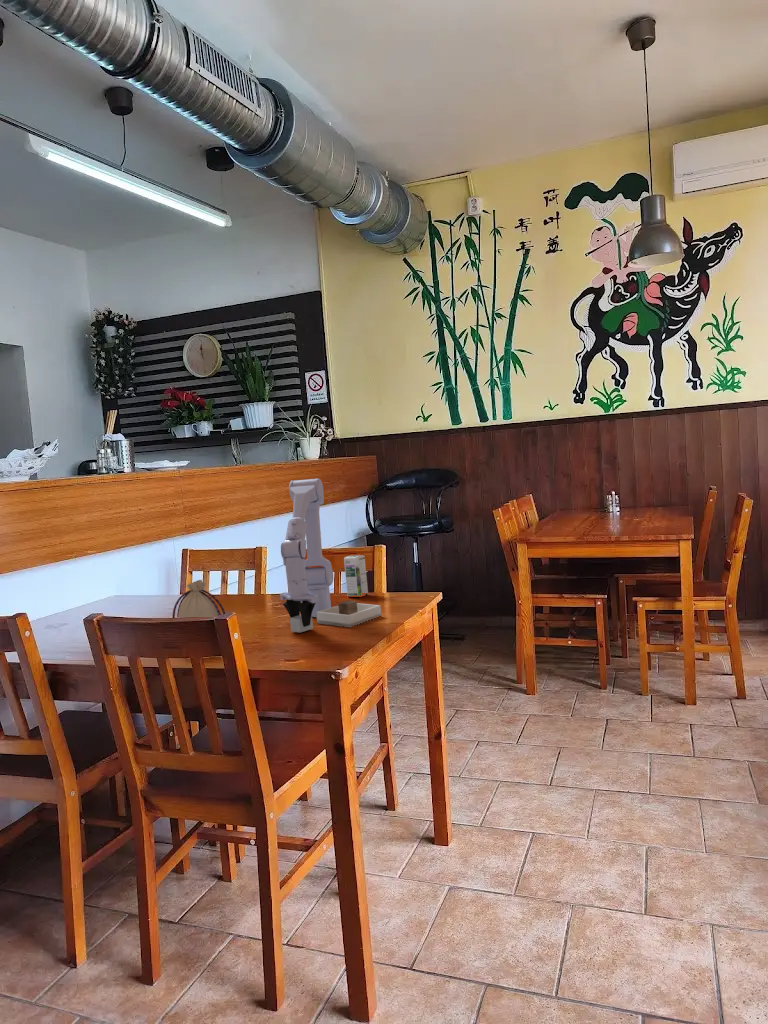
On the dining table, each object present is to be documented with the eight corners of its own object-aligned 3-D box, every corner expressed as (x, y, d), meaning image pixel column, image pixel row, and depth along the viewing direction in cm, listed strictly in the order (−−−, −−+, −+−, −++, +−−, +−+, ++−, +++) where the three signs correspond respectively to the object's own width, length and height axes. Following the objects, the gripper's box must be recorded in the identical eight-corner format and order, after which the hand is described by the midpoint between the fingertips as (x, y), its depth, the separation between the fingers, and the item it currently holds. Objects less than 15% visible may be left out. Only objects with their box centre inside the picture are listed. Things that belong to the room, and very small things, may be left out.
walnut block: (339, 617, 225) (338, 603, 225) (348, 614, 228) (347, 600, 228) (348, 618, 222) (347, 604, 222) (358, 615, 225) (356, 601, 225)
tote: (317, 623, 225) (316, 612, 224) (349, 613, 235) (348, 602, 235) (349, 627, 215) (348, 615, 215) (381, 616, 226) (380, 605, 225)
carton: (291, 631, 216) (289, 617, 215) (303, 627, 219) (302, 614, 219) (300, 632, 213) (298, 619, 212) (312, 628, 217) (311, 615, 216)
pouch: (248, 642, 209) (240, 576, 207) (234, 650, 201) (226, 582, 200) (172, 643, 217) (165, 579, 215) (156, 651, 209) (148, 585, 207)
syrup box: (346, 598, 260) (342, 557, 259) (355, 594, 265) (351, 554, 264) (360, 598, 257) (356, 557, 256) (368, 594, 263) (365, 554, 261)
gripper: (270, 581, 217) (275, 626, 218) (303, 583, 207) (308, 630, 208) (288, 576, 222) (293, 620, 223) (321, 578, 212) (326, 624, 213)
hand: (301, 625), depth 216 cm, fingers closed on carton, 4 cm apart
